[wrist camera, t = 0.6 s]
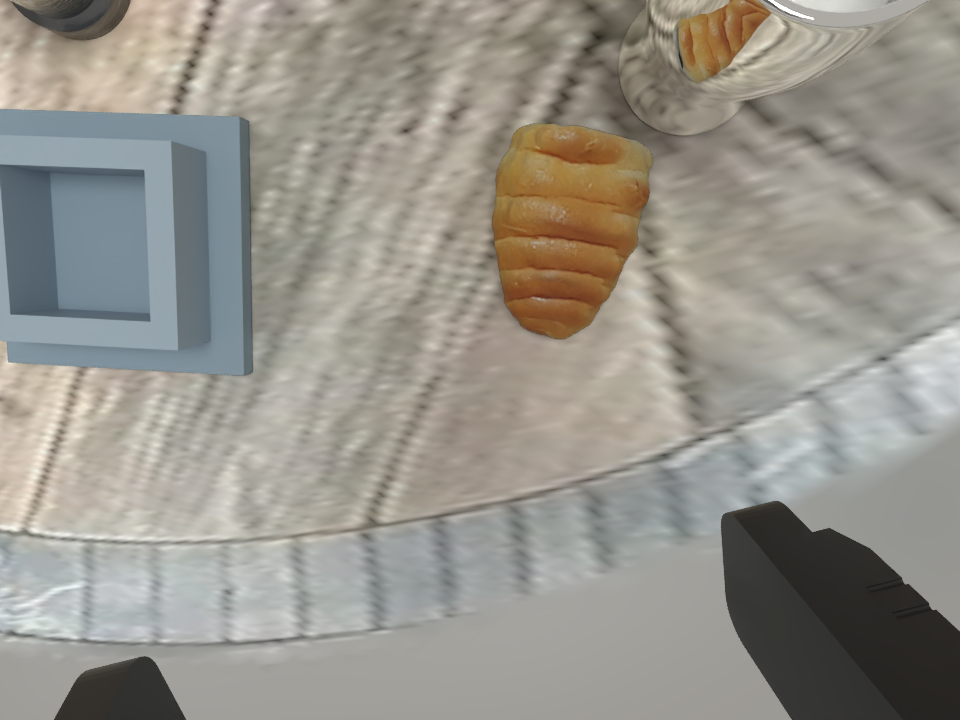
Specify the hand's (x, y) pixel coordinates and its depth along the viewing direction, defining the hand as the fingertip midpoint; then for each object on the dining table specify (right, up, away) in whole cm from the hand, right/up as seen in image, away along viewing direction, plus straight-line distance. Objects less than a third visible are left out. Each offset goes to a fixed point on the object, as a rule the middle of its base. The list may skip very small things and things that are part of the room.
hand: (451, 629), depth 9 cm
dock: (-17, +9, +23) cm, 30 cm away
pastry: (+5, +10, +22) cm, 24 cm away
